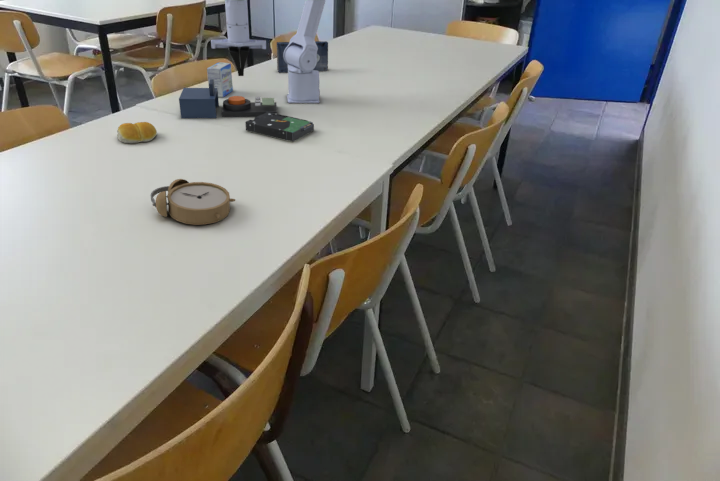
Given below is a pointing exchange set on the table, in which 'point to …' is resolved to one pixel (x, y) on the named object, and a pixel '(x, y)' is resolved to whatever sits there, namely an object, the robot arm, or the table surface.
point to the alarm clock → (193, 202)
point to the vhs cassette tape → (321, 56)
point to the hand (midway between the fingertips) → (241, 75)
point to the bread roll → (136, 132)
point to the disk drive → (280, 126)
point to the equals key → (236, 100)
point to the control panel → (246, 109)
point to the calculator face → (264, 101)
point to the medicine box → (221, 78)
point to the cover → (199, 102)
